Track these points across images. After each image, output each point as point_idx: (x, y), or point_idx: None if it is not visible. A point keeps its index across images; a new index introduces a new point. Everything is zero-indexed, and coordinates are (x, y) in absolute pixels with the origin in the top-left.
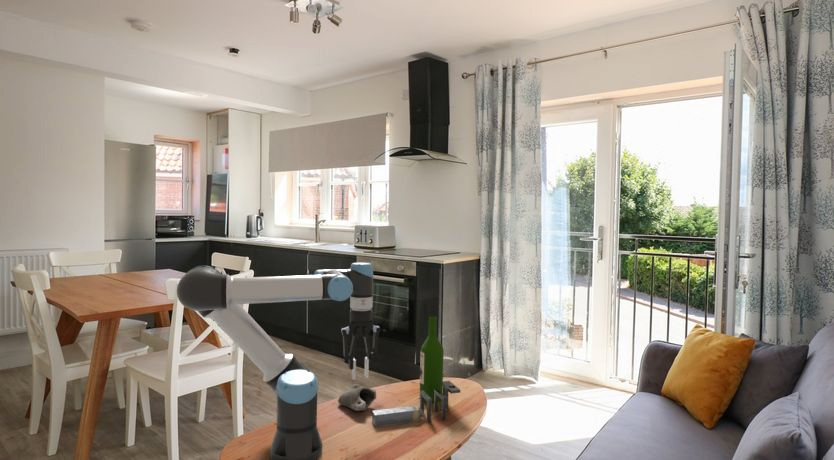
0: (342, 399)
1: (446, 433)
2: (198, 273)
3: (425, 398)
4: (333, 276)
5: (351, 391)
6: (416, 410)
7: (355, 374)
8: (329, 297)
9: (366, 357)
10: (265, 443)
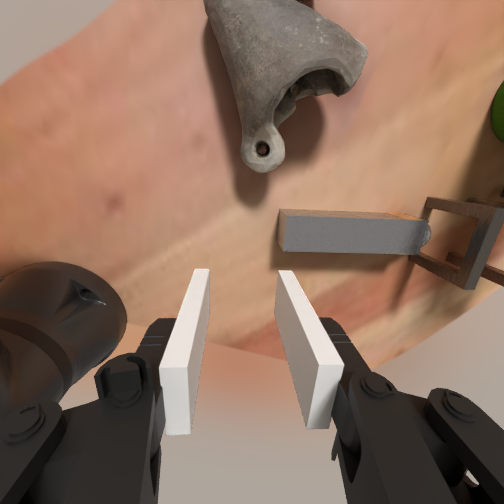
0: (216, 32)
1: (408, 318)
2: None
3: (466, 260)
4: None
5: (252, 46)
6: (408, 254)
7: (206, 331)
8: None
9: (330, 380)
10: None
